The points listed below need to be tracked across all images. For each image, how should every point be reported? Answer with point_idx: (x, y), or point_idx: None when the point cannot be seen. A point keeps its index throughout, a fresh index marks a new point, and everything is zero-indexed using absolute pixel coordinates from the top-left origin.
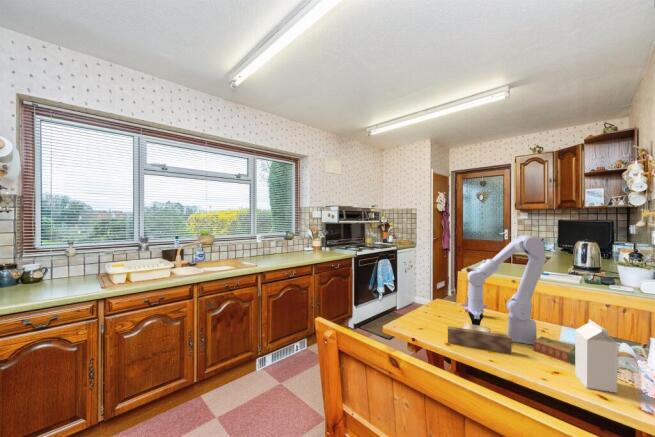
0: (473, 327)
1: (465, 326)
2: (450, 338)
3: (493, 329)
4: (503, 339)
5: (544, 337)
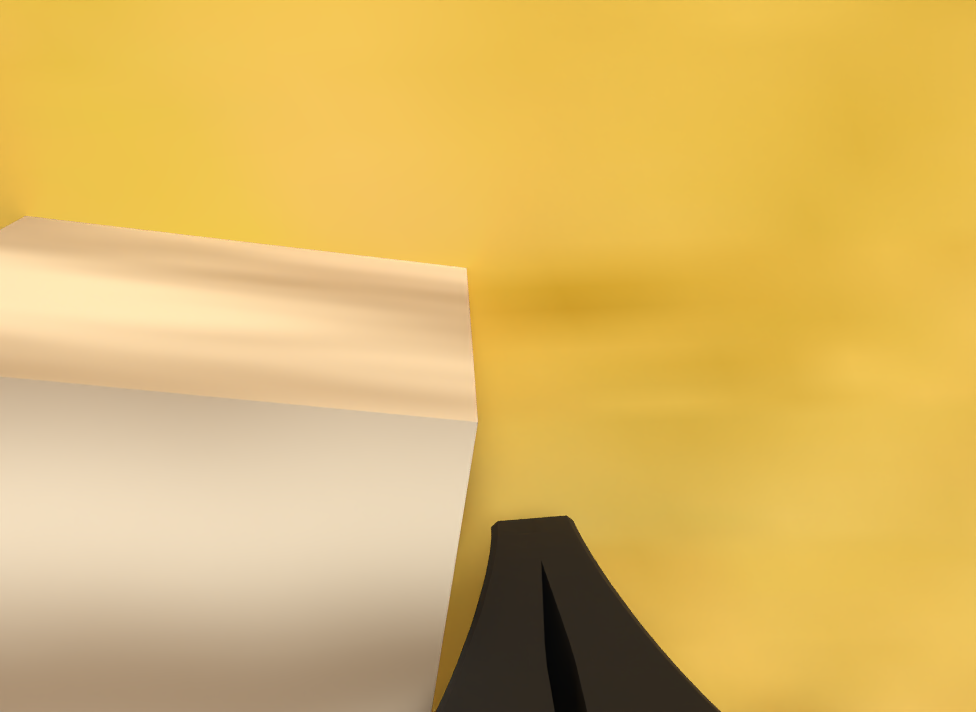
0: (180, 671)
1: (90, 482)
2: None
3: (899, 706)
4: None
5: None
